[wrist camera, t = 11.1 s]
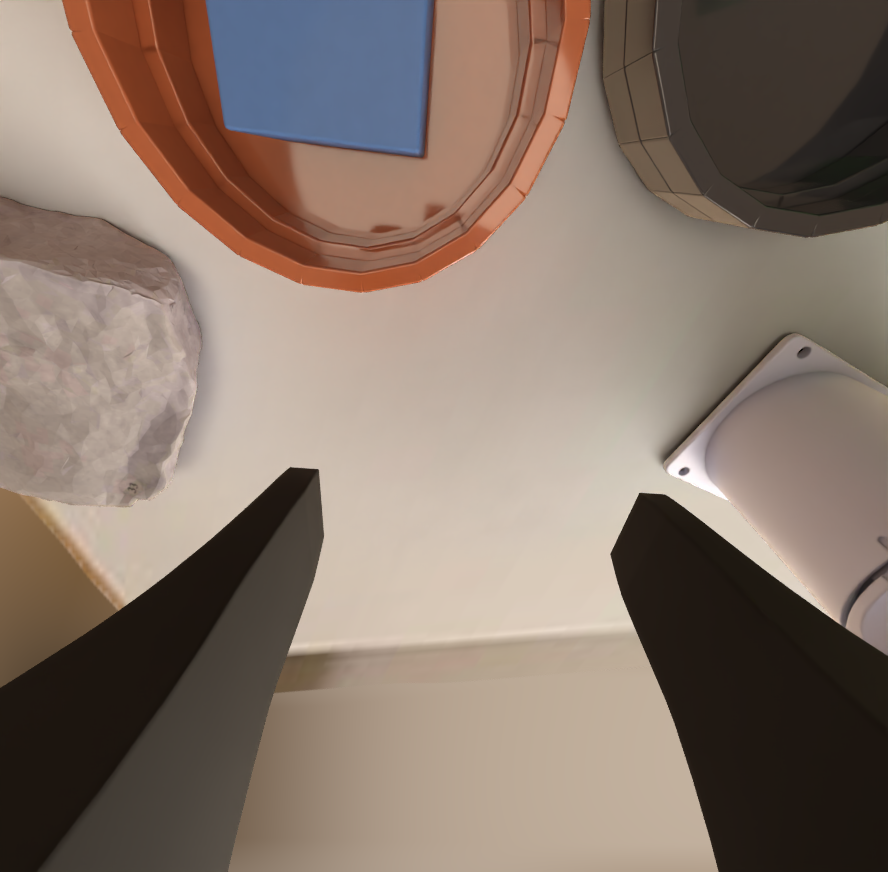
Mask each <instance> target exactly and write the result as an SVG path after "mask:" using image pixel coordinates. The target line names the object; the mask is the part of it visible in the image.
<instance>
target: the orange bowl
mask: <svg viewBox="0 0 888 872" xmlns="http://www.w3.org/2000/svg"><path fill="white" fill-rule="evenodd" d="M62 2H63V6H64V10H65V14H66V18H67V21H68V25H69V28H70V30H71V31H73V32H72V36H73V38H74V40H75V42H76V44H77V46H78V48H79V50H80V52H81V54H82V56H83V59H84V61H85V63H86V65H87V67H88V69H89V71H90V73H91V75H92V77H93V79H94V81H95V83H96V85H97V87H98V89H99V91H100V93H101V95H102V97H103V99H104V101H105V103H106V105H107V107H108V109H109V111H110V113H111V115H112V117H113V119H114V122H115V124H116V126H117V127H118V129H119V130H121V131H120V132H121V134H122V135H123V137H124V138H125V139H126V141H127V142H128V143H129V144H130V146H131V147H132V148H133V150H134V151H135V152H136V153H137V155H138V156H139V157H140V159H141V160H142V161H143V162H144V164H145V165H146V166H147V167H148V169H149V170H150V171H151V173H152V174H153V175H154V176H155V178H156V179H157V180H158V182H159V183H160V184H161V185H162V187H163V188H164V189H165V191H166V192H167V193H168V194H169V196H170V197H171V198H172V200H173V201H174V202H175V203H176V204H178V207H180V208H181V209H182V210H183V211H184V212H186V213H187V214H188V215H189V216H191V217H192V218H193V219H194V220H196V221H197V222H198V223H199V224H200V225H202V226H203V227H204V228H205V229H207V230H208V231H209V232H210V233H211V234H213V235H214V236H215V237H216V238H218V239H219V240H220V241H221V242H222V243H224V244H225V245H226V246H227V247H229V248H230V249H231V250H232V251H233V252H235V253H236V254H237V255H240V256H241V257H243V258H245V259H247V260H249V261H251V262H254V263H256V264H258V265H260V266H262V267H265V268H267V269H269V270H271V271H273V272H275V273H278V274H280V275H282V276H284V277H286V278H289V279H291V280H293V281H295V282H297V283H299V284H301V283H302V284H303V285H309V286H316V287H323V288H331V289H338V290H345V291H353V292H360V293H362V292H371V291H376V290H381V289H387V288H392V287H397V286H403V285H408V284H413V283H418V282H421V281H422V280H423V281H424V280H426V279H428V278H430V277H432V276H433V275H435V274H437V273H439V272H440V271H442V270H444V269H446V268H448V267H449V266H451V265H453V264H455V263H456V262H458V261H460V260H462V259H463V258H465V257H467V256H469V255H470V254H472V253H474V252H476V250H477V249H479V248H480V247H481V246H482V245H483V244H484V243H485V242H486V241H487V240H488V239H489V238H490V237H491V235H492V234H493V233H494V232H495V231H496V230H497V229H498V228H499V227H500V226H501V225H502V224H503V222H504V221H505V220H506V219H507V218H508V217H509V216H510V215H511V214H512V213H513V212H514V211H515V210H516V208H517V207H518V206H519V205H520V204H521V203H522V202H523V201H524V200H525V198H526V197H525V196H527V195H528V194H529V192H530V190H531V188H532V186H533V184H534V182H535V180H536V178H537V176H538V174H539V172H540V171H541V169H542V167H543V165H544V163H545V161H546V159H547V157H548V155H549V153H550V151H551V149H552V147H553V145H554V143H555V141H556V139H557V137H558V136H559V134H560V132H561V130H562V128H563V126H564V123H565V120H566V119H567V115H568V111H569V107H570V103H571V99H572V95H573V90H574V86H575V82H576V78H577V74H578V69H579V65H580V61H581V57H582V53H583V49H584V44H585V40H586V36H587V32H588V28H589V24H590V20H589V19H590V17H591V0H434V11H433V27H432V42H431V58H430V74H429V89H428V105H427V121H426V137H425V152H424V156H423V157H422V158H420V157H412V156H404V155H396V154H388V153H380V152H372V151H364V150H356V149H348V148H340V147H332V146H324V145H316V144H308V143H300V142H292V141H285V140H279V139H274V138H269V137H263V136H258V135H253V134H247V133H242V132H237V131H231V130H228V129H227V128H225V125H224V120H223V114H222V107H221V100H220V94H219V87H218V81H217V74H216V67H215V61H214V54H213V47H212V41H211V34H210V27H209V21H208V14H207V8H206V1H205V0H62Z"/></svg>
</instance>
